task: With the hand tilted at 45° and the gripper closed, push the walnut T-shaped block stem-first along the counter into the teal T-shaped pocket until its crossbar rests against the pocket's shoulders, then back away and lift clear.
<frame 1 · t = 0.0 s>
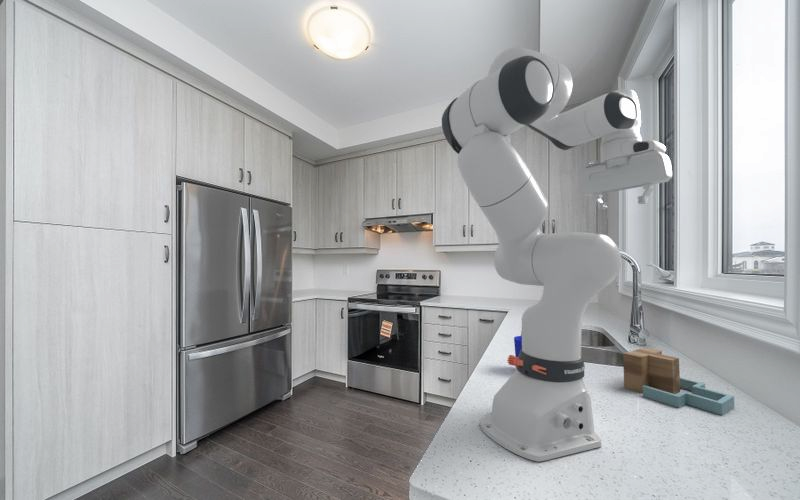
hand: (621, 206, 80), 48 cm above the counter, tool pointing down, fingers open, 8 cm apart
t block: (643, 385, 82), on the counter
mug: (535, 374, 91), on the counter
t pocket: (690, 399, 74), on the counter
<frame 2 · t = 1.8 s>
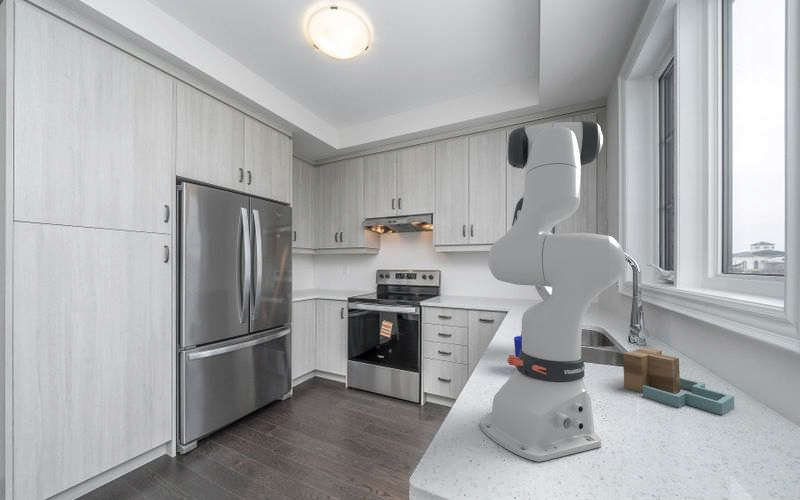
hand: (578, 309, 98), 18 cm above the counter, tool tilted 45°, fingers open, 8 cm apart
nothing on the counter moved.
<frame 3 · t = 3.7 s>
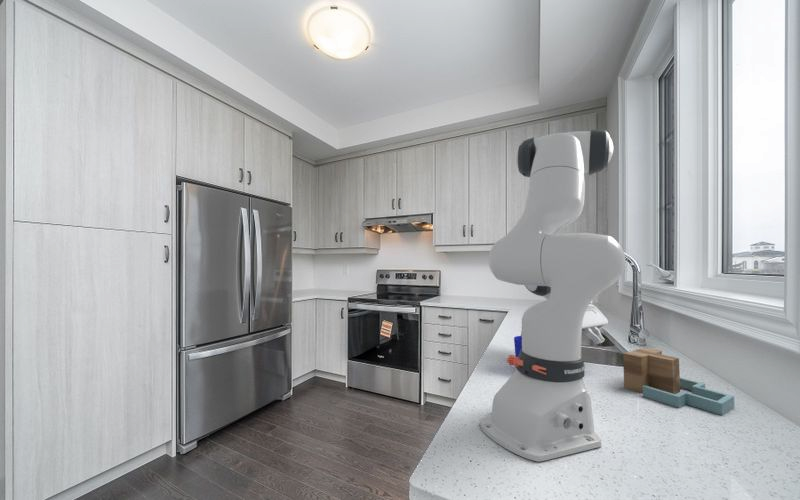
hand: (601, 342, 92), 9 cm above the counter, tool tilted 45°, fingers closed
nothing on the counter moved.
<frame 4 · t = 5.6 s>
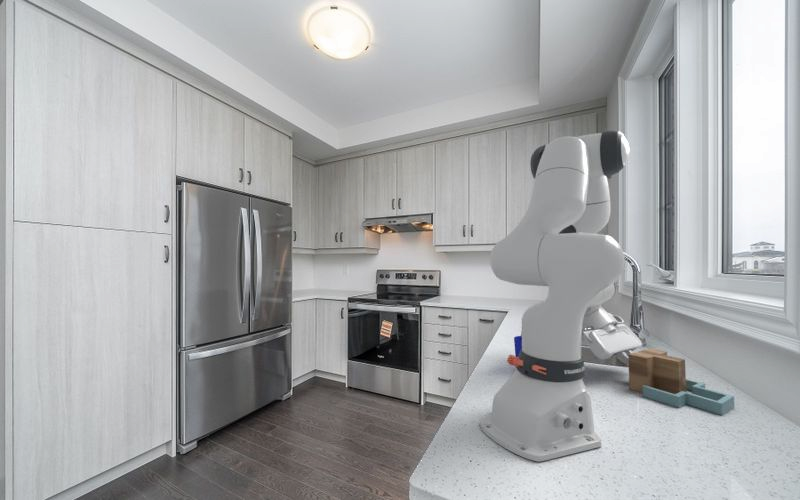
hand: (636, 367, 84), 4 cm above the counter, tool tilted 45°, fingers closed, pressing on t block
t block: (648, 387, 81), on the counter, touching gripper
everything else where it was.
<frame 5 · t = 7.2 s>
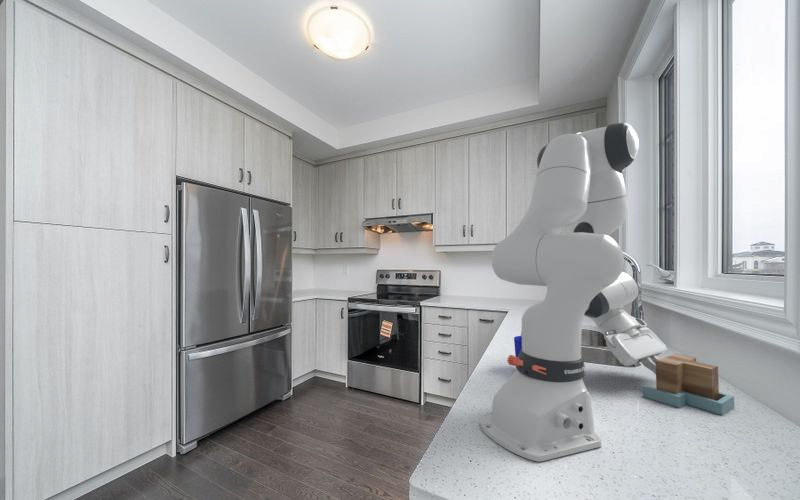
hand: (663, 374, 78), 4 cm above the counter, tool tilted 45°, fingers closed, pressing on t block
t block: (677, 395, 76), on the counter, touching gripper, t pocket
everything else where it was.
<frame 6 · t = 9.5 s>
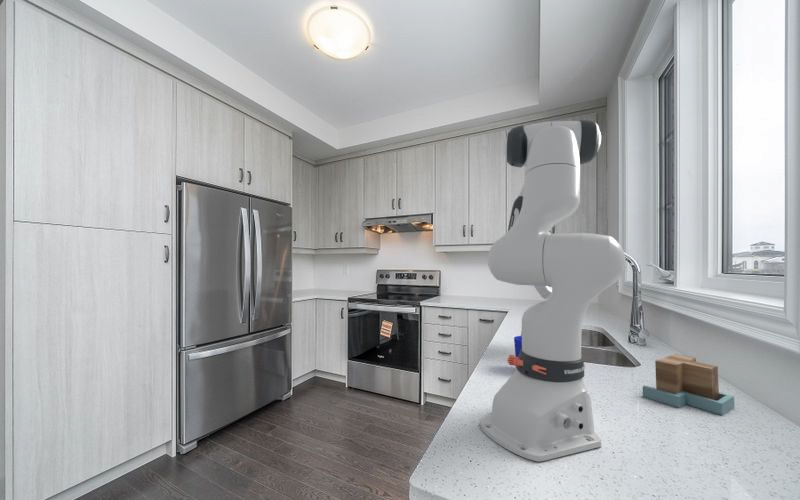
hand: (575, 306, 99), 19 cm above the counter, tool tilted 45°, fingers closed
t block: (677, 395, 76), on the counter
everything else where it was.
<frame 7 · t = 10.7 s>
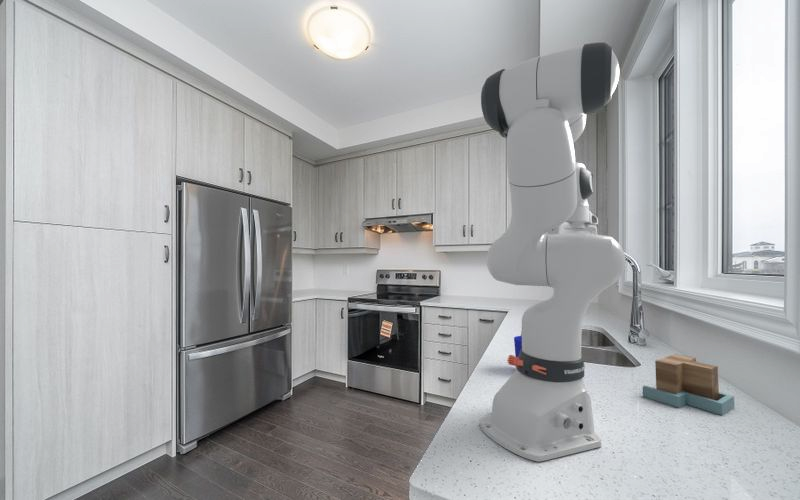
hand: (573, 263, 92), 33 cm above the counter, tool pointing down, fingers closed
nothing on the counter moved.
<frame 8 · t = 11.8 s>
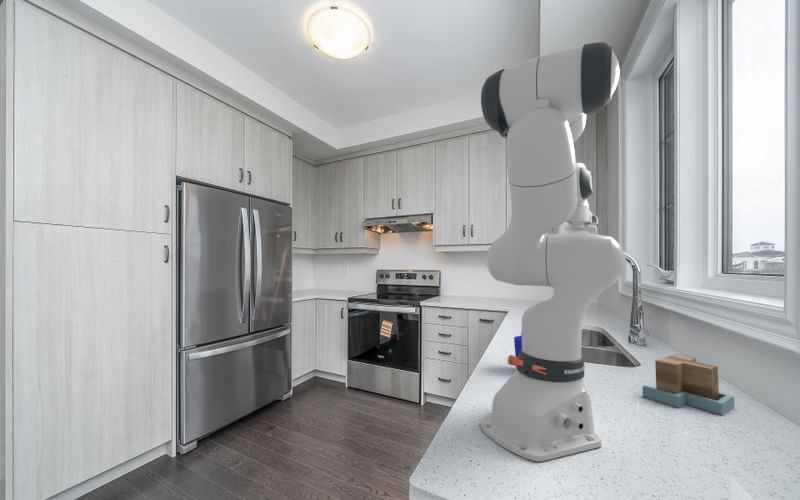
hand: (573, 263, 92), 33 cm above the counter, tool pointing down, fingers closed
nothing on the counter moved.
at the end: t block 0.4 cm from the target spot, on the counter; t block tilted 0° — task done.
